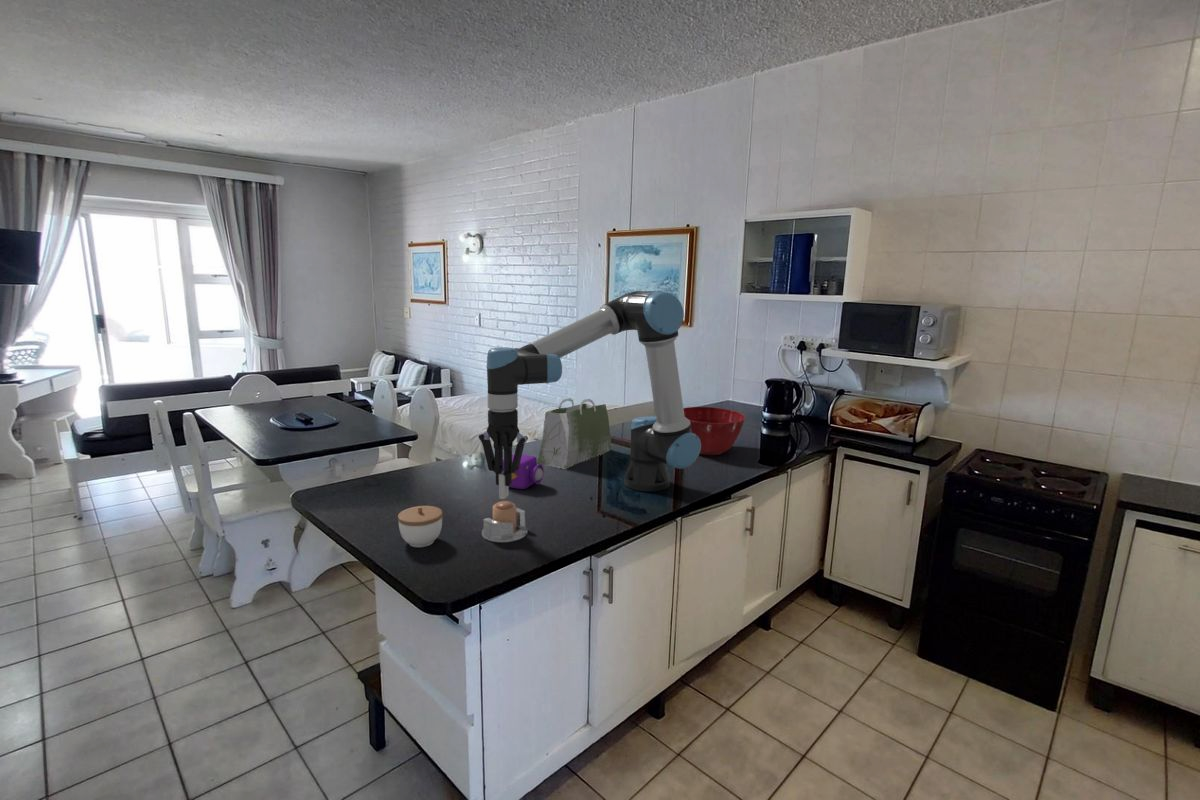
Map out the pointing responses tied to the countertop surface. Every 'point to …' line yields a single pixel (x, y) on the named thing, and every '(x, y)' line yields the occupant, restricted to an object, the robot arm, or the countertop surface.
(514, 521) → the tan tapered cylinder
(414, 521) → the lidded jar
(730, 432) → the mixing bowl
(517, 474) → the toy camera
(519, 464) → the robot arm
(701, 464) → the countertop surface
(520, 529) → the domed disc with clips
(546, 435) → the grocery bag
